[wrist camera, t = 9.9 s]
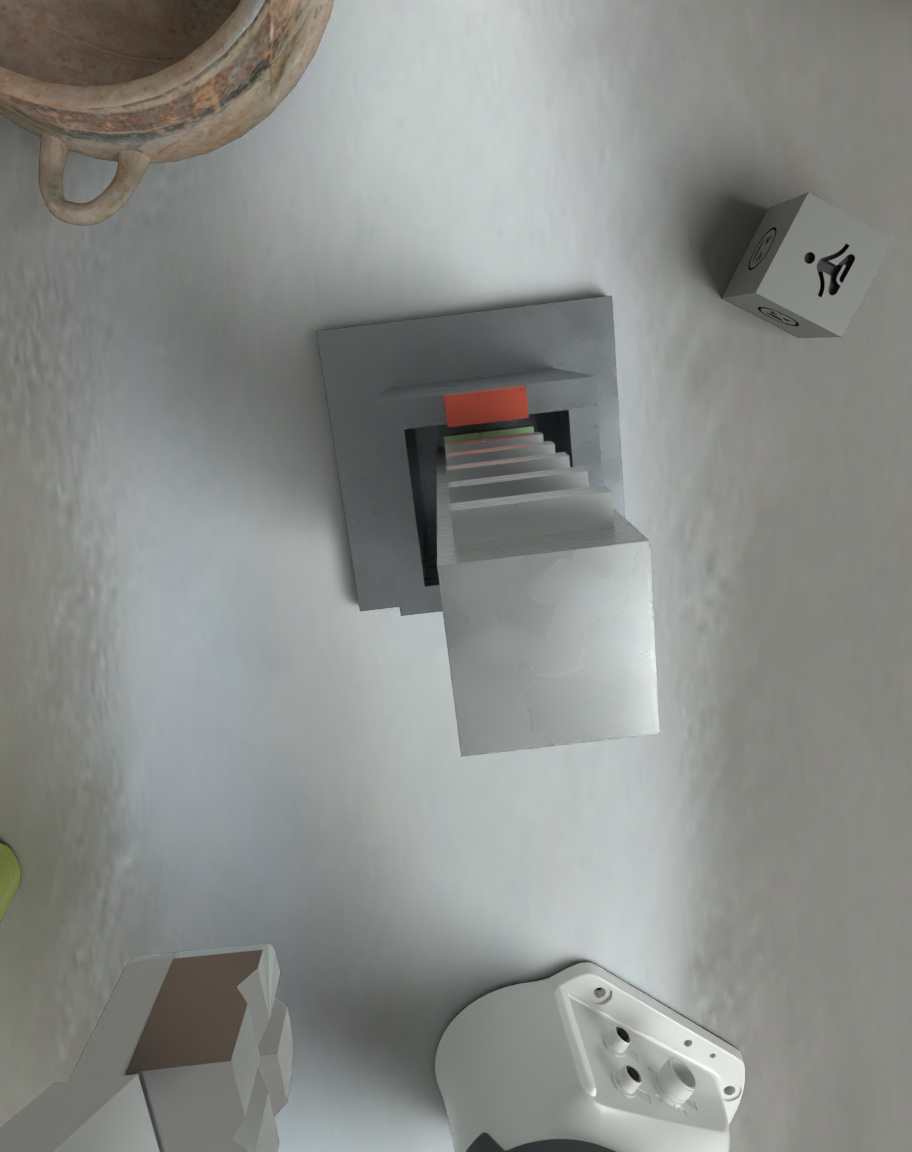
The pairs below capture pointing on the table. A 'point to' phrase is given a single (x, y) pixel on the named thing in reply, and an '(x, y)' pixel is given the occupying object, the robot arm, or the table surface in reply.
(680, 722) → the table surface
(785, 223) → the dice cube
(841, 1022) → the table surface
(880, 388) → the table surface
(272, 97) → the cooking pot
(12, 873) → the plant pot
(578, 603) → the column
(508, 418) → the sleeve
